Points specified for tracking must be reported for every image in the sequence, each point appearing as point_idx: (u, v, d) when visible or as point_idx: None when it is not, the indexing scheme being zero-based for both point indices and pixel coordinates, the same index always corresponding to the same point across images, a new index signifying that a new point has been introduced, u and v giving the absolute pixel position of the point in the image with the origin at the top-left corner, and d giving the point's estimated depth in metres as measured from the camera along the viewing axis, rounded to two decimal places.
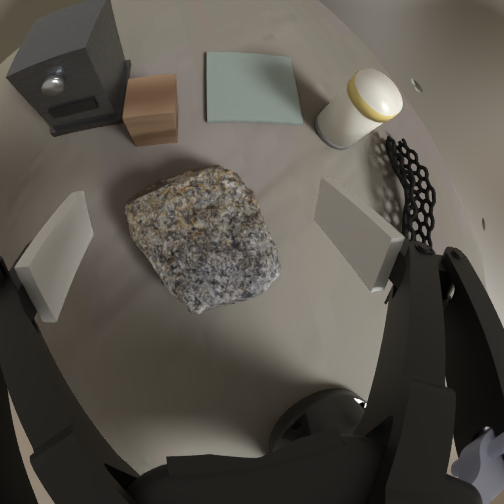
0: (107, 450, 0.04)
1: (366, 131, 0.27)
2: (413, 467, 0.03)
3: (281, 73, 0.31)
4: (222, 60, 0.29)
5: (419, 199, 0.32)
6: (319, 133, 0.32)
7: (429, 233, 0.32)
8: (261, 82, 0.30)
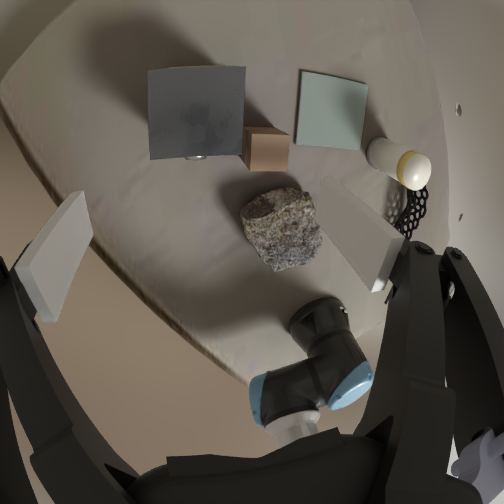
0: (107, 450, 0.04)
1: None
2: (413, 467, 0.03)
3: (357, 103, 0.37)
4: (314, 84, 0.34)
5: (414, 209, 0.49)
6: (367, 157, 0.43)
7: (412, 229, 0.51)
8: (340, 111, 0.37)
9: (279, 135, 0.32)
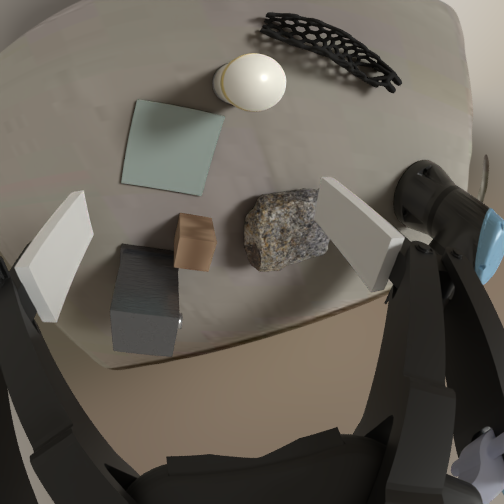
0: (107, 450, 0.04)
1: None
2: (413, 467, 0.03)
3: (160, 116, 0.30)
4: (135, 170, 0.34)
5: (336, 40, 0.26)
6: None
7: (366, 50, 0.27)
8: (169, 140, 0.33)
9: (178, 245, 0.35)
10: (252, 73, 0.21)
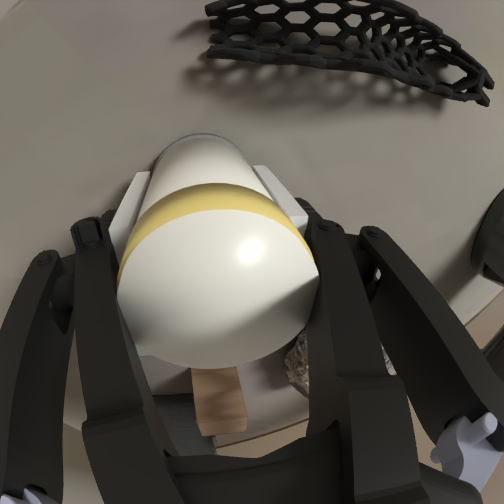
0: (164, 433, 0.05)
1: None
2: (378, 472, 0.03)
3: None
4: None
5: (382, 25, 0.10)
6: None
7: (439, 35, 0.09)
8: None
9: (199, 426, 0.23)
10: (197, 298, 0.07)
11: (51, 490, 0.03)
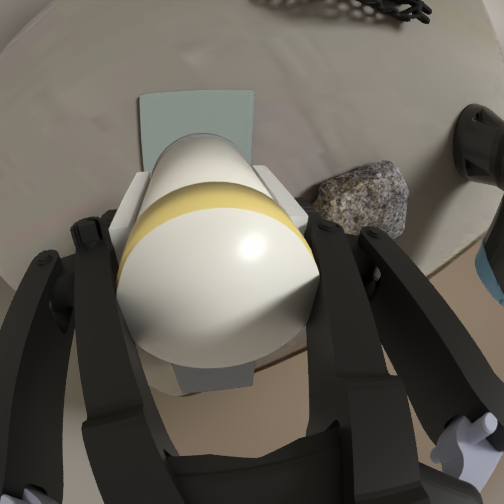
0: (164, 433, 0.05)
1: None
2: (378, 472, 0.03)
3: (174, 108, 0.24)
4: None
5: None
6: None
7: None
8: (193, 133, 0.26)
9: None
10: (197, 297, 0.07)
11: (51, 490, 0.03)
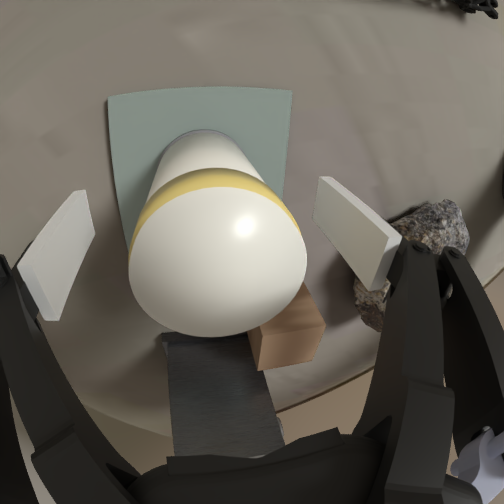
0: (108, 449, 0.04)
1: None
2: (412, 467, 0.03)
3: (163, 116, 0.15)
4: None
5: None
6: None
7: None
8: None
9: (262, 346, 0.19)
10: (199, 264, 0.08)
11: None
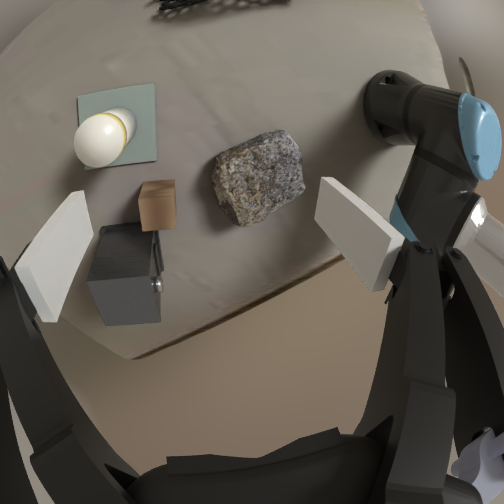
0: (107, 450, 0.04)
1: (129, 127, 0.28)
2: (413, 467, 0.03)
3: (100, 103, 0.30)
4: None
5: None
6: None
7: None
8: None
9: (140, 208, 0.35)
10: (91, 136, 0.23)
11: None
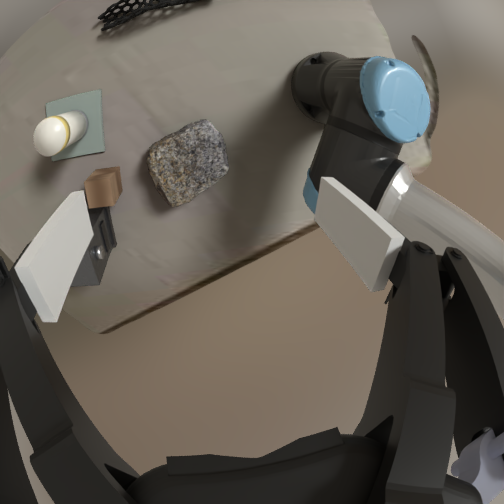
0: (107, 450, 0.04)
1: (75, 125, 0.33)
2: (413, 467, 0.03)
3: (61, 108, 0.34)
4: None
5: None
6: (79, 139, 0.38)
7: None
8: None
9: (86, 189, 0.39)
10: (44, 133, 0.28)
11: None
